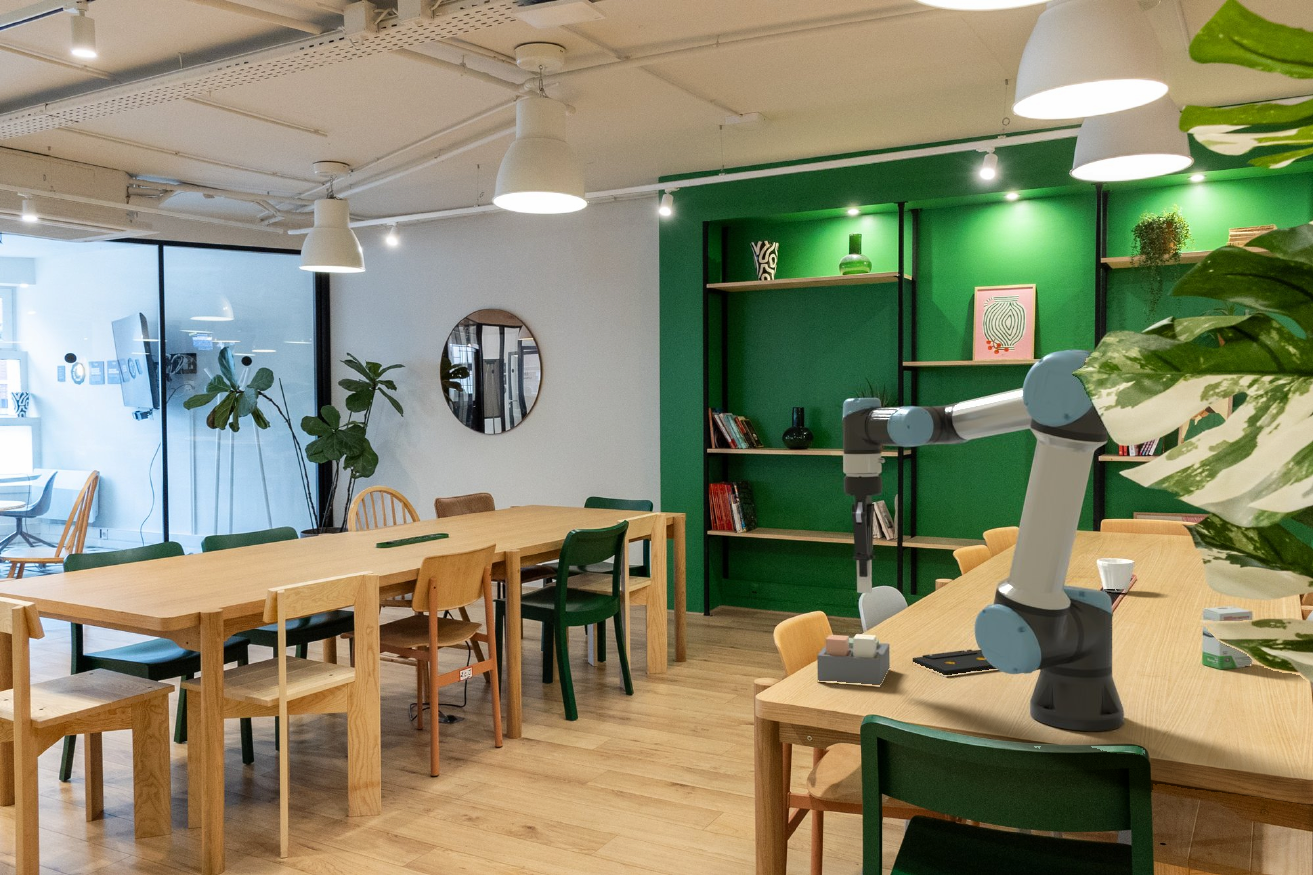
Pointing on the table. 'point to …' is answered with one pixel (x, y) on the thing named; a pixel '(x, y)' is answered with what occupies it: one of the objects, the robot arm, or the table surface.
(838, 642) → the pink block
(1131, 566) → the cup
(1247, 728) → the table surface
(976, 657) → the black flat panel
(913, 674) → the table surface
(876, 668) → the grey open box
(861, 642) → the cream block
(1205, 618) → the ink box
